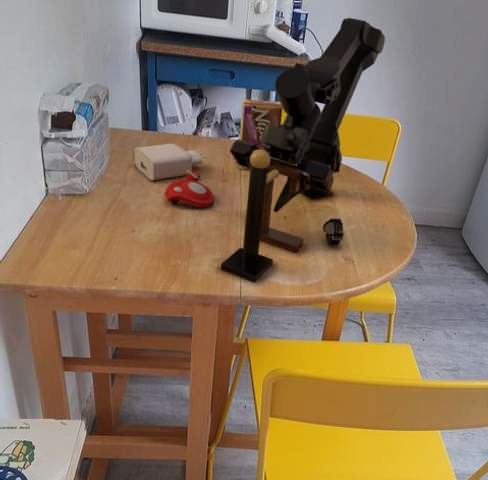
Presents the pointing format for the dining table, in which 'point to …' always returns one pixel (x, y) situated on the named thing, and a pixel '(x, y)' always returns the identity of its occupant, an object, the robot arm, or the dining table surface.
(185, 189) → the tracker holder
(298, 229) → the dining table surface
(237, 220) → the dining table surface
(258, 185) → the coat rack
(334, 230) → the smartwatch
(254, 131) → the candy box
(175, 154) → the charger
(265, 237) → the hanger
